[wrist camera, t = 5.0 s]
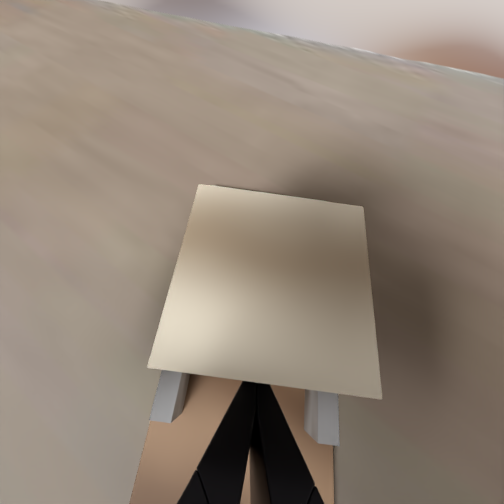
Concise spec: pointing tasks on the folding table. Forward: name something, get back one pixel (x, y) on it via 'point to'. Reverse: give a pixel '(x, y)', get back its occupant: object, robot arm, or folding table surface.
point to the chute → (207, 421)
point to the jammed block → (272, 295)
